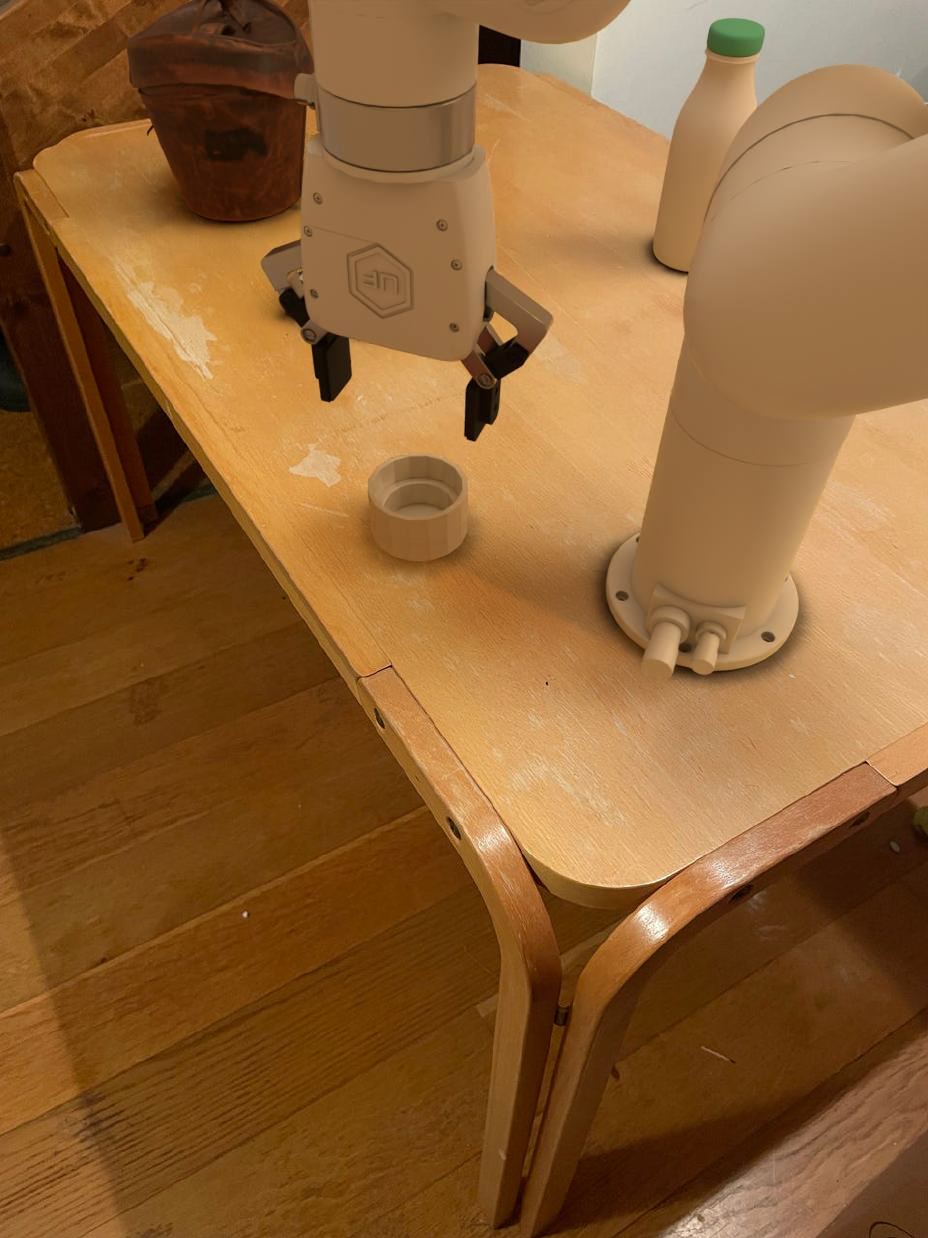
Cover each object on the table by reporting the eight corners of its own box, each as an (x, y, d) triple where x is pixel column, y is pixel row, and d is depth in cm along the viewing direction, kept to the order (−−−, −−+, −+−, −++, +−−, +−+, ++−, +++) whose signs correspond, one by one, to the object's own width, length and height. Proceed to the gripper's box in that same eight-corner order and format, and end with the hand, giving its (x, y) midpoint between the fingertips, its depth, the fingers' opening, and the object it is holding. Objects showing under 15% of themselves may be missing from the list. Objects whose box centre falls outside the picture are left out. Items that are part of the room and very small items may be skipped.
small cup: (446, 577, 61) (445, 530, 58) (356, 551, 63) (351, 504, 60) (480, 513, 66) (481, 466, 62) (395, 490, 67) (392, 443, 64)
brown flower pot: (278, 141, 106) (251, -42, 92) (360, 209, 95) (344, 14, 81) (133, 178, 99) (80, -12, 86) (203, 255, 89) (156, 52, 75)
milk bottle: (701, 283, 86) (754, 49, 71) (636, 255, 89) (672, 25, 74) (743, 253, 90) (803, 24, 74) (679, 227, 93) (723, 3, 77)
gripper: (198, 116, 42) (255, 409, 56) (545, 186, 39) (517, 481, 52) (275, 61, 47) (310, 344, 60) (592, 119, 43) (555, 407, 57)
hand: (406, 408), depth 56 cm, fingers open, 9 cm apart
